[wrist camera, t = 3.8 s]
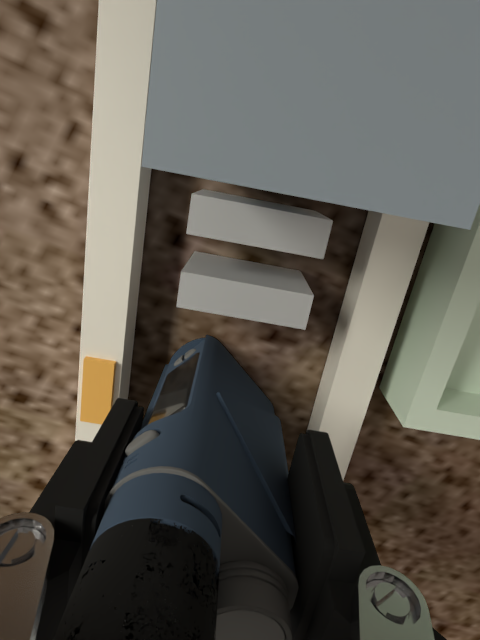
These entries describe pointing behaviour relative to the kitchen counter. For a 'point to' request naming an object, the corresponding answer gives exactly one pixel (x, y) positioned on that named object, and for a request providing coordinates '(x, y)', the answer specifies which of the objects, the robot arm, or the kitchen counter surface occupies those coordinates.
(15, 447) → the kitchen counter surface
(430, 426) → the tray
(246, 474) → the vaping device
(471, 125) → the rail
